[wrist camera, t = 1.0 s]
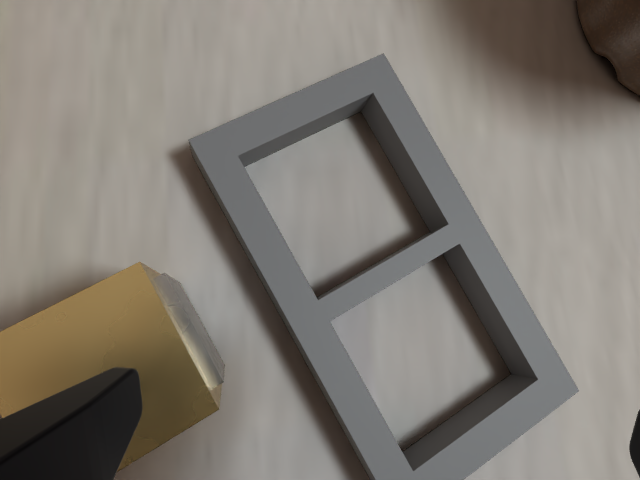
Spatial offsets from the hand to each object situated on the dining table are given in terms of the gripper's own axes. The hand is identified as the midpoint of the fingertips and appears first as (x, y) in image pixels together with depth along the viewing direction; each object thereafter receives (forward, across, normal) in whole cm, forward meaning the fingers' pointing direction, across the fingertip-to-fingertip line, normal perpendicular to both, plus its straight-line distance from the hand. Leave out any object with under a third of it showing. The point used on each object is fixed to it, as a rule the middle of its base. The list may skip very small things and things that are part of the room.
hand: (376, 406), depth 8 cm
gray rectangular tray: (+14, 0, +3) cm, 14 cm away
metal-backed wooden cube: (+9, +9, +5) cm, 14 cm away
